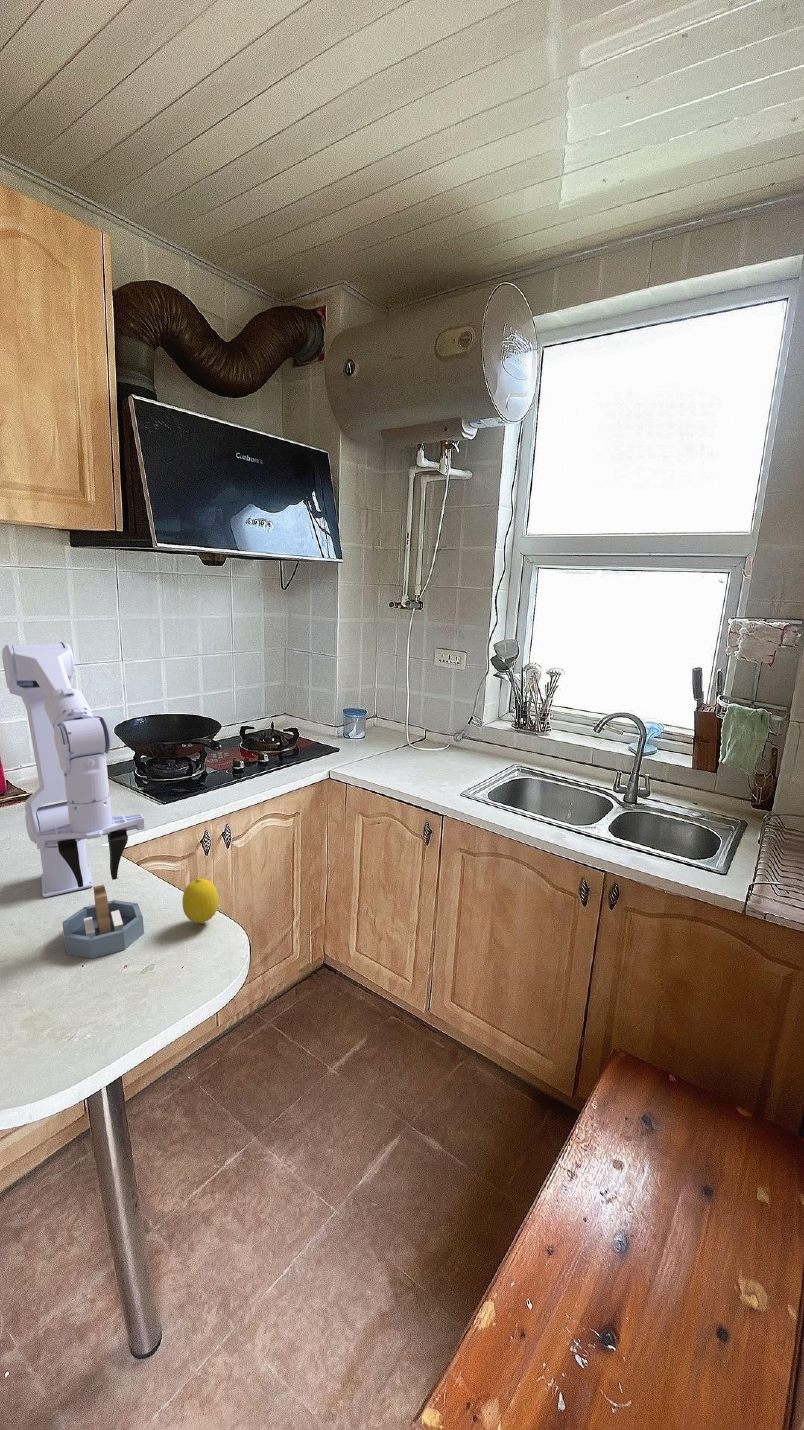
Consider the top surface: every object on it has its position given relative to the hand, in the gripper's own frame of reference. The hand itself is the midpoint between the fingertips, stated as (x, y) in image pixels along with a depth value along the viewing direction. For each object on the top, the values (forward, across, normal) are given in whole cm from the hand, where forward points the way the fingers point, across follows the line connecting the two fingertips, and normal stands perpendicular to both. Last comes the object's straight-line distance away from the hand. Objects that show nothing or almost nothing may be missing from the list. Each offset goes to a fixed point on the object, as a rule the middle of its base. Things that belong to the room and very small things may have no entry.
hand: (97, 880), depth 93 cm
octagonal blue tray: (+9, 0, -1) cm, 9 cm away
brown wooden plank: (+8, 0, -1) cm, 9 cm away
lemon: (+10, +14, -5) cm, 18 cm away
